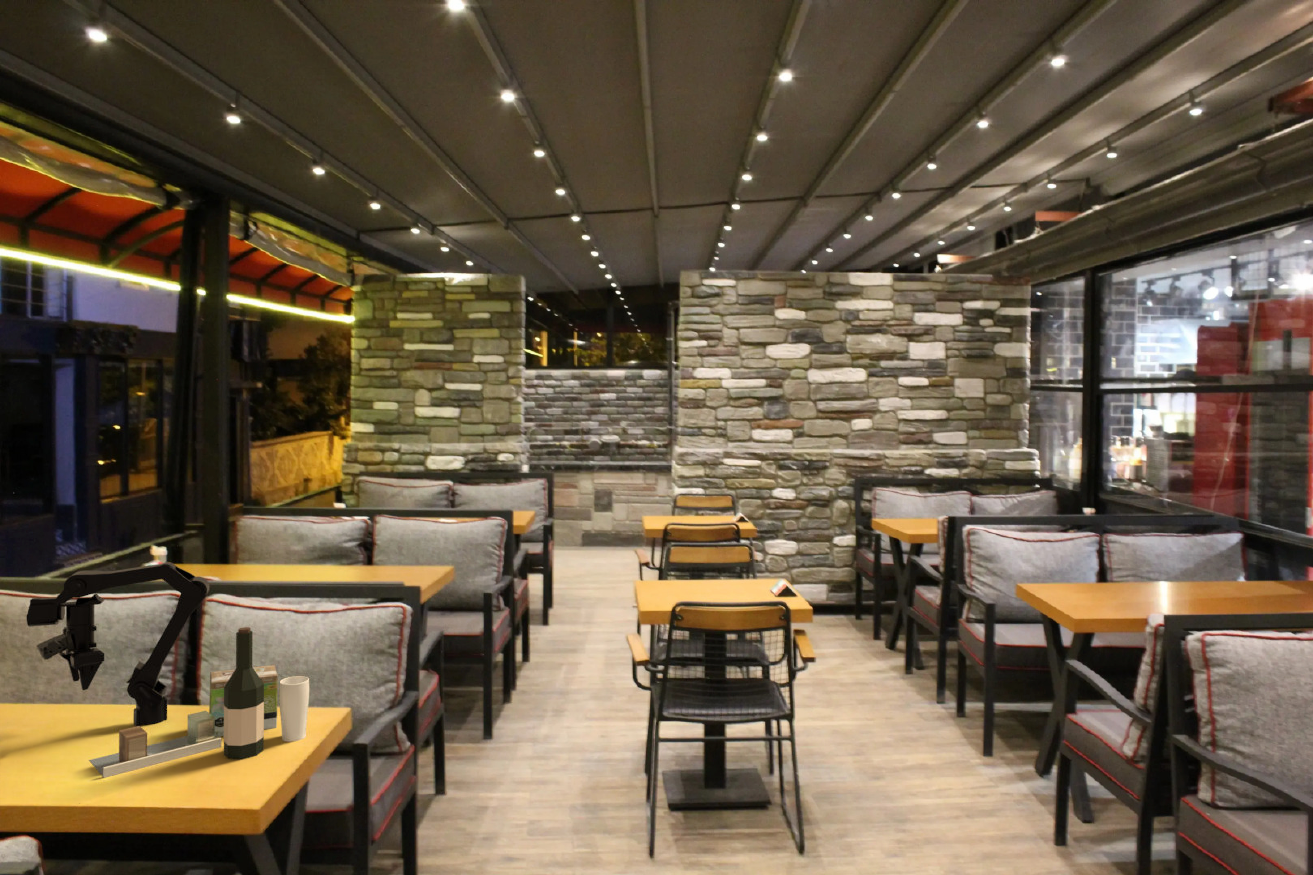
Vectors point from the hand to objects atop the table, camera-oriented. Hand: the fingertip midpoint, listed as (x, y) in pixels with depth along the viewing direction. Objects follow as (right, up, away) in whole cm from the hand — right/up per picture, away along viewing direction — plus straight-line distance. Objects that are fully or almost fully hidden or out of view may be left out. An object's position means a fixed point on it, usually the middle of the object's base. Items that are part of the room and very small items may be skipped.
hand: (80, 685), depth 201 cm
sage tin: (+35, -12, -9) cm, 38 cm away
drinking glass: (+54, -13, -3) cm, 56 cm away
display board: (+27, -13, -14) cm, 33 cm away
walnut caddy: (+25, -12, -19) cm, 34 cm away
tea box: (+39, -13, +4) cm, 41 cm away
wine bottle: (+47, -13, -12) cm, 50 cm away
